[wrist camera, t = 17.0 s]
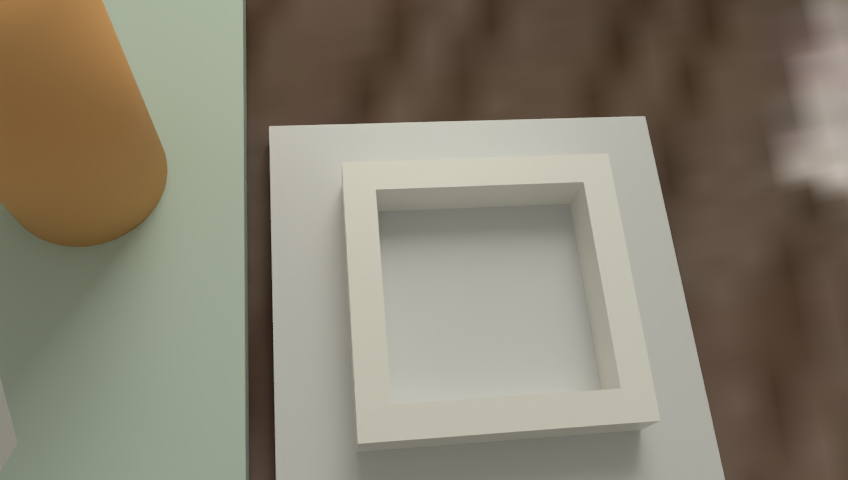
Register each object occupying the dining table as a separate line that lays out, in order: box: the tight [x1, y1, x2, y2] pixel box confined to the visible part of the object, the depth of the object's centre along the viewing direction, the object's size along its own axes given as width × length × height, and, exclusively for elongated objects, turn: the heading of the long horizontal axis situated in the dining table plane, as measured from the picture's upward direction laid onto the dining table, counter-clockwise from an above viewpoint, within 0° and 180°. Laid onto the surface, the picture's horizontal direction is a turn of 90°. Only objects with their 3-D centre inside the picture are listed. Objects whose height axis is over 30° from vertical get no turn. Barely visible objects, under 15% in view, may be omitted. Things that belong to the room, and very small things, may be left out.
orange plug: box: [0, 0, 168, 247], centre depth 25 cm, size 6×6×12 cm
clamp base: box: [269, 116, 725, 480], centre depth 30 cm, size 16×16×3 cm
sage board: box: [0, 0, 249, 480], centre depth 31 cm, size 24×14×1 cm, turn 5°
